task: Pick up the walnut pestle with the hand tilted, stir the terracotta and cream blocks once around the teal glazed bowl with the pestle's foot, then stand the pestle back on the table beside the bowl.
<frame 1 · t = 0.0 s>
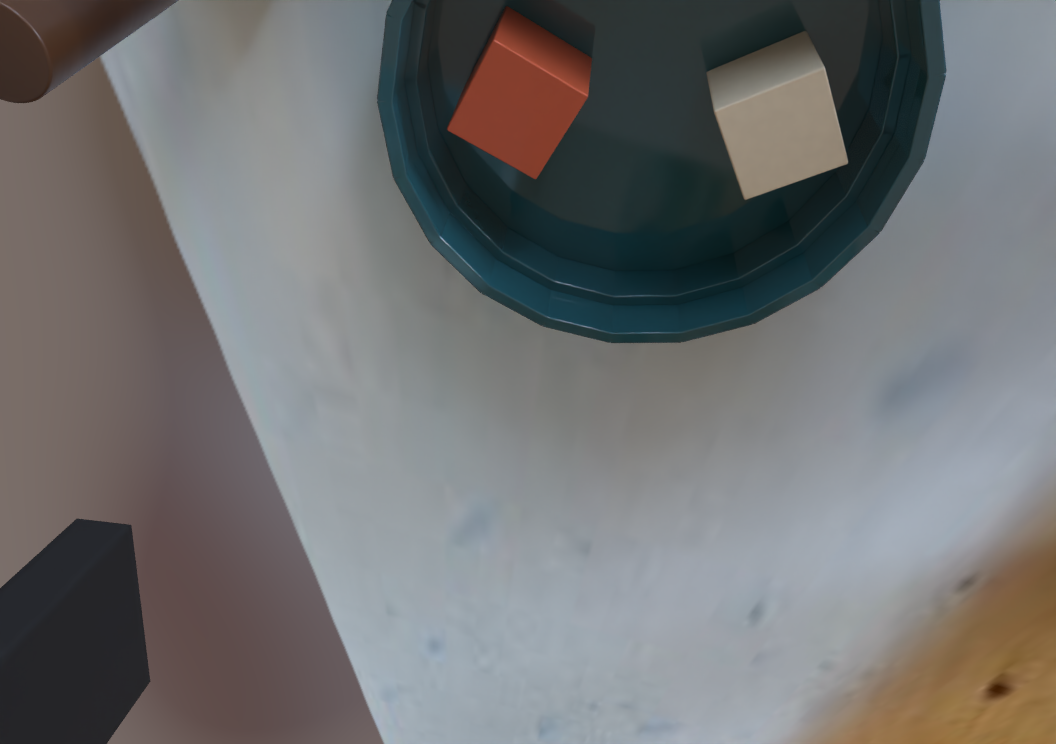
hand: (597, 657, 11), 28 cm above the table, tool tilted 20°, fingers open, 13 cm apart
bowl: (646, 79, 34), on the table
terracotta block: (526, 74, 33), point 1 cm above the table, touching bowl
cream block: (768, 96, 33), point 1 cm above the table, touching bowl
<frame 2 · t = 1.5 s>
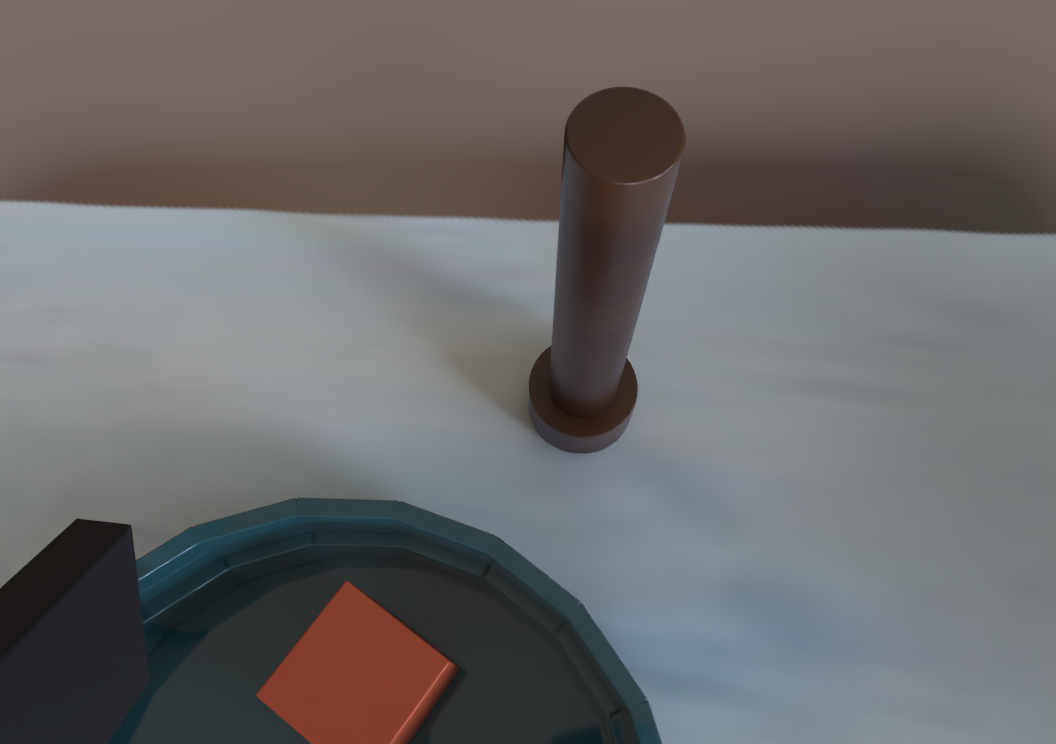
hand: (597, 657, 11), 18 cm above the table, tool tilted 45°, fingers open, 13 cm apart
terracotta block: (377, 682, 27), point 1 cm above the table, touching bowl
pestle: (580, 404, 31), on the table
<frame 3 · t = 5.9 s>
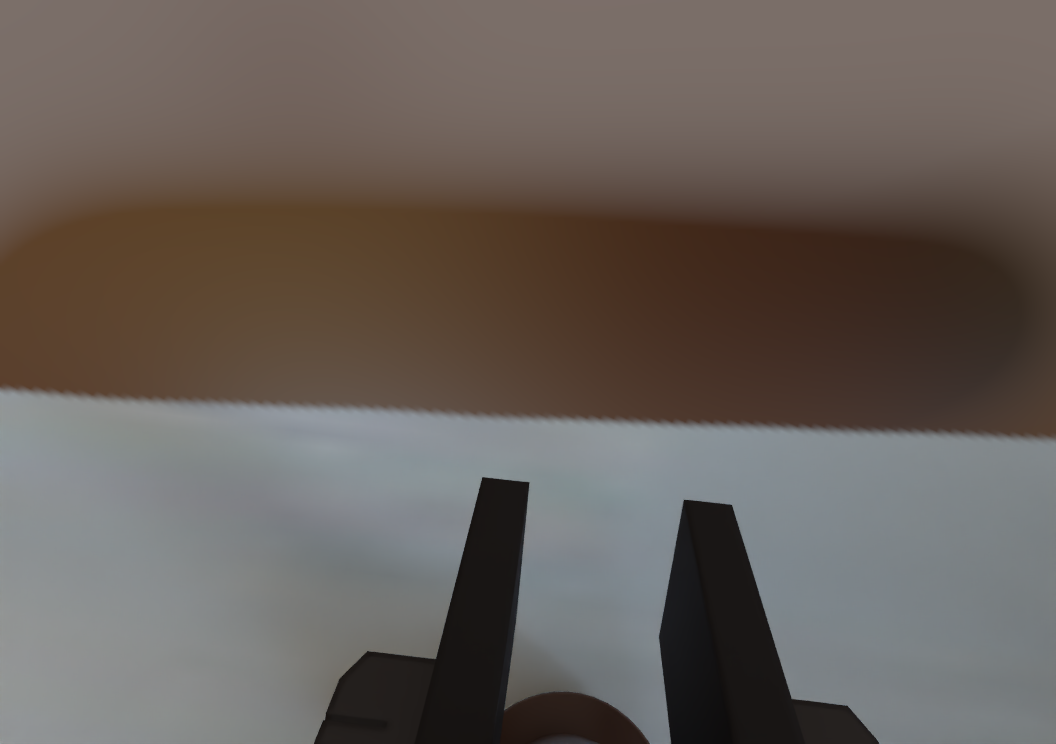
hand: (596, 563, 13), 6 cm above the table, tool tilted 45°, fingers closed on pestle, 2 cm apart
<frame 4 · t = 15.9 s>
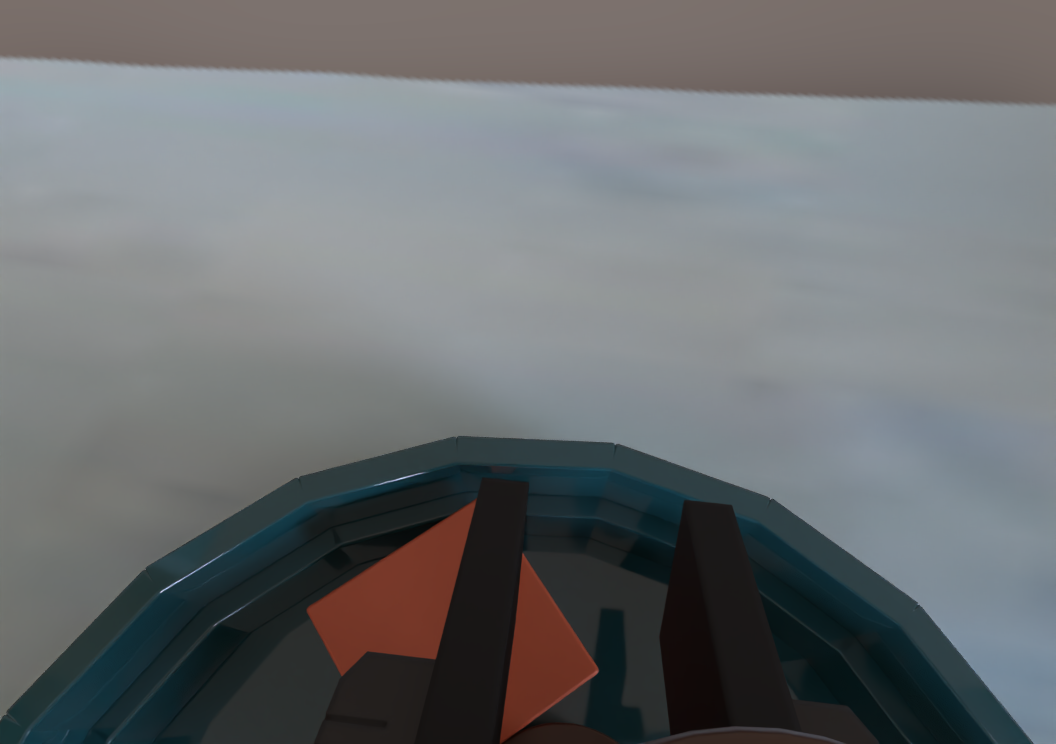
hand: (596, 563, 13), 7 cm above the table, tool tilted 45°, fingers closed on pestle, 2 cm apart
terracotta block: (465, 653, 19), point 1 cm above the table, touching bowl, pestle
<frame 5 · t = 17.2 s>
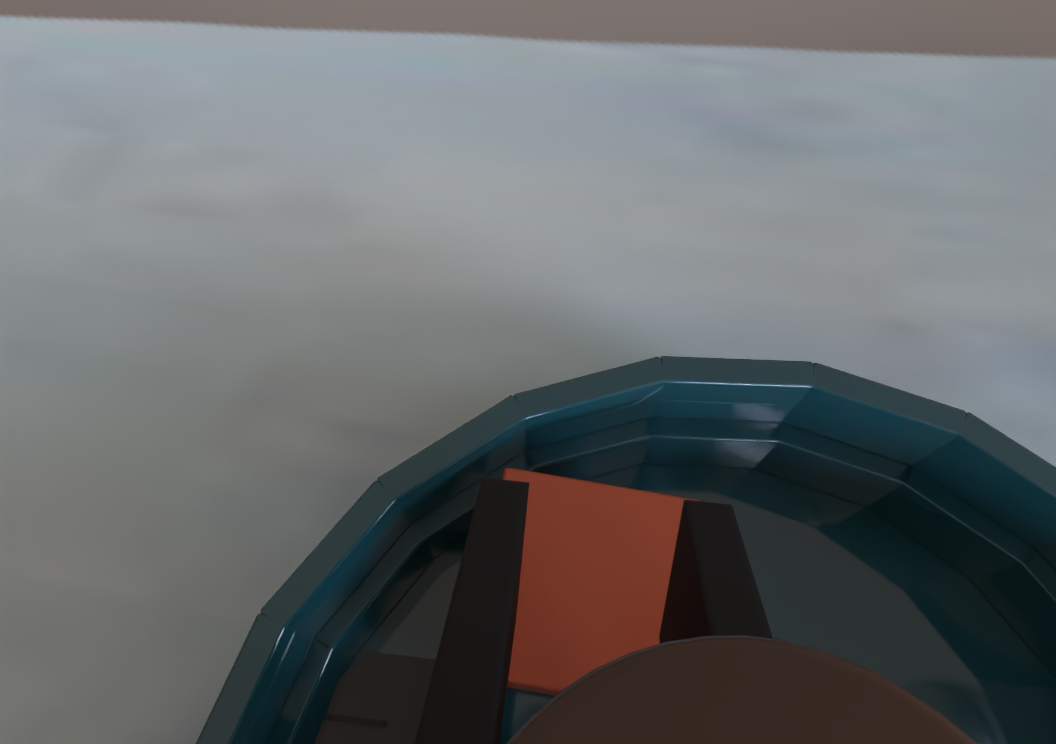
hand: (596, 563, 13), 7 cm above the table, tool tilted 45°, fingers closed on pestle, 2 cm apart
terracotta block: (575, 607, 19), point 1 cm above the table, touching bowl
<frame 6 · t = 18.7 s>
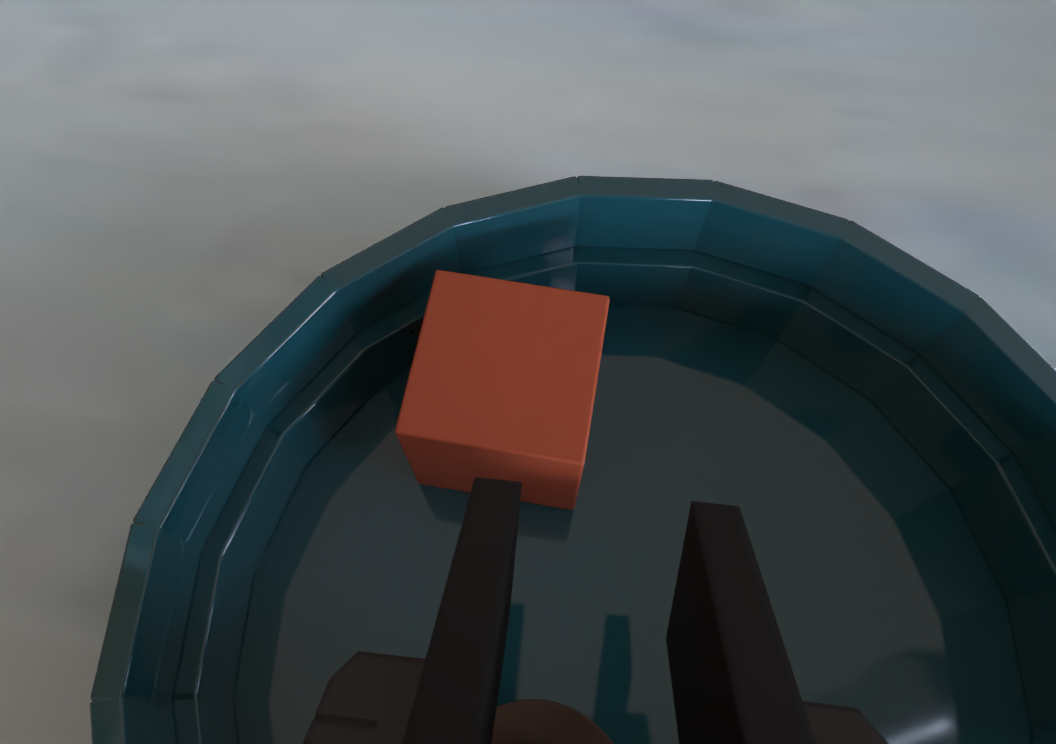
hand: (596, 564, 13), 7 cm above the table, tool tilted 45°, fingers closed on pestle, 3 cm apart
bowl: (625, 650, 19), on the table
terracotta block: (509, 423, 21), point 1 cm above the table, touching bowl
when the fingers open (6 cm above the table, at t = 29.0 s): pestle stays where it is, on the table.
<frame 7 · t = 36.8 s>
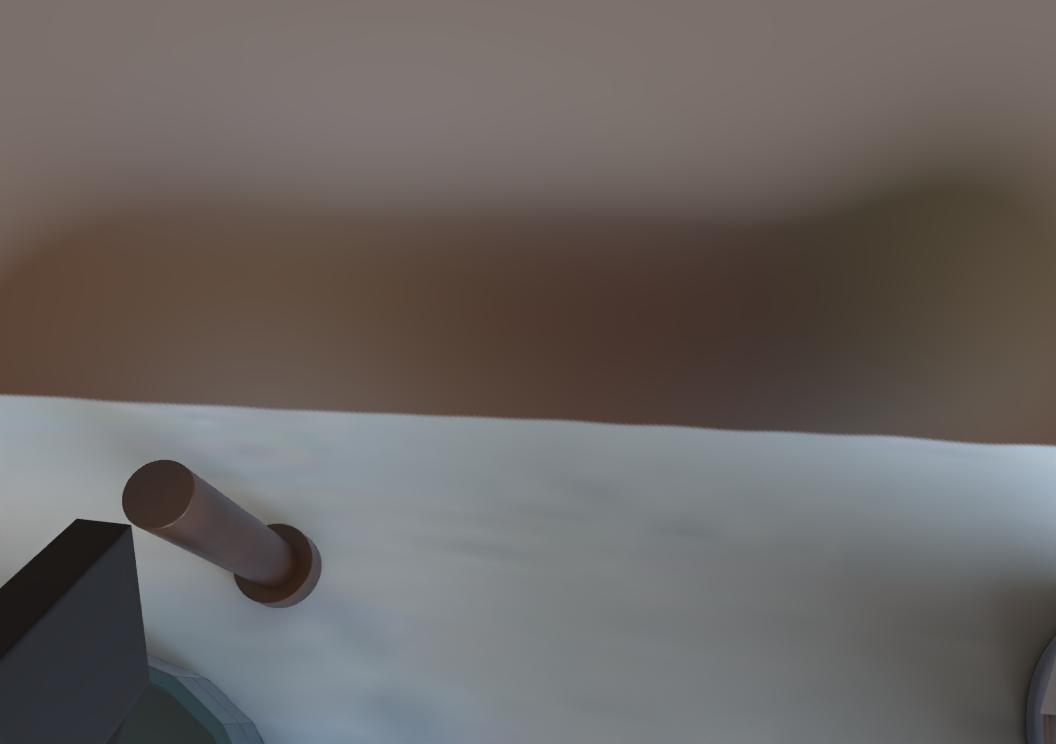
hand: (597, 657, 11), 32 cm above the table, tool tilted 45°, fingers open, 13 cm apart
pestle: (283, 569, 43), on the table
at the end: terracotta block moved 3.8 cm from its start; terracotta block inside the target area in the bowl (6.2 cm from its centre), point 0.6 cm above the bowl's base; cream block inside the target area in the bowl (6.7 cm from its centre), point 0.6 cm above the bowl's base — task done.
